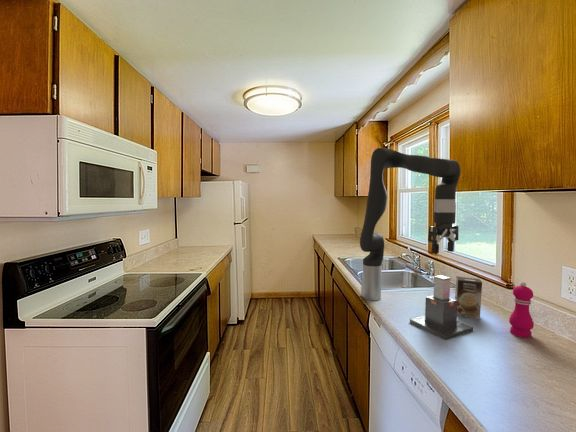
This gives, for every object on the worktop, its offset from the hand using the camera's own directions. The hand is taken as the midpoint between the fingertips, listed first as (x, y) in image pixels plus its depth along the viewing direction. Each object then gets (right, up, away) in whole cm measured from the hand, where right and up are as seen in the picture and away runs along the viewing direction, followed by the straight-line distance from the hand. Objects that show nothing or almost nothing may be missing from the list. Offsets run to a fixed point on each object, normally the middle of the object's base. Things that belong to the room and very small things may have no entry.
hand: (443, 252), depth 113 cm
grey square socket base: (0, -30, +2) cm, 30 cm away
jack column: (0, -28, +2) cm, 28 cm away
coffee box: (+18, -30, +14) cm, 37 cm away
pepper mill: (+27, -31, -4) cm, 41 cm away
